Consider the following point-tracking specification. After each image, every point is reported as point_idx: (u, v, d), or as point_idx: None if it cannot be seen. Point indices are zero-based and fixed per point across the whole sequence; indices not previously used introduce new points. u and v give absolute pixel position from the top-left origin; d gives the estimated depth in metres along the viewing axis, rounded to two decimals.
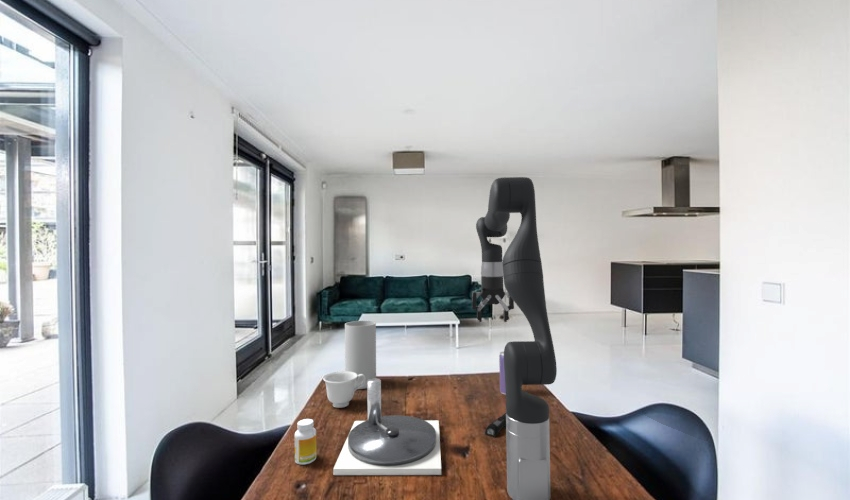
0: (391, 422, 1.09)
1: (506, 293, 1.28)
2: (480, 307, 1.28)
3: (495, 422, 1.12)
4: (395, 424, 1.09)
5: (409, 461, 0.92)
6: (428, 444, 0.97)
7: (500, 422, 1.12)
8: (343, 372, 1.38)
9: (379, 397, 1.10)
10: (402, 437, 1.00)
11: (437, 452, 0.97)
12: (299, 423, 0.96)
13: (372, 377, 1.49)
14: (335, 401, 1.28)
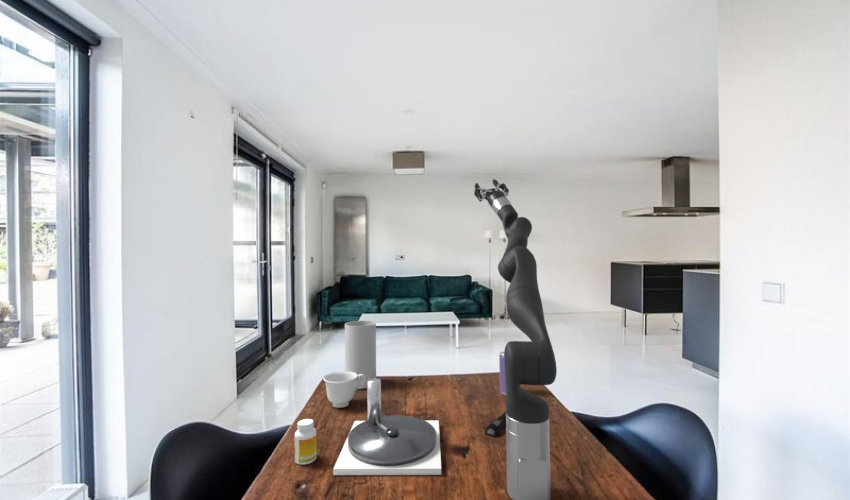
0: (391, 422, 1.09)
1: None
2: None
3: (495, 422, 1.12)
4: (395, 424, 1.09)
5: (409, 461, 0.92)
6: (428, 444, 0.97)
7: (499, 422, 1.12)
8: (343, 372, 1.38)
9: (379, 397, 1.10)
10: (402, 437, 1.00)
11: (437, 452, 0.97)
12: (299, 423, 0.96)
13: (372, 377, 1.49)
14: (335, 401, 1.28)
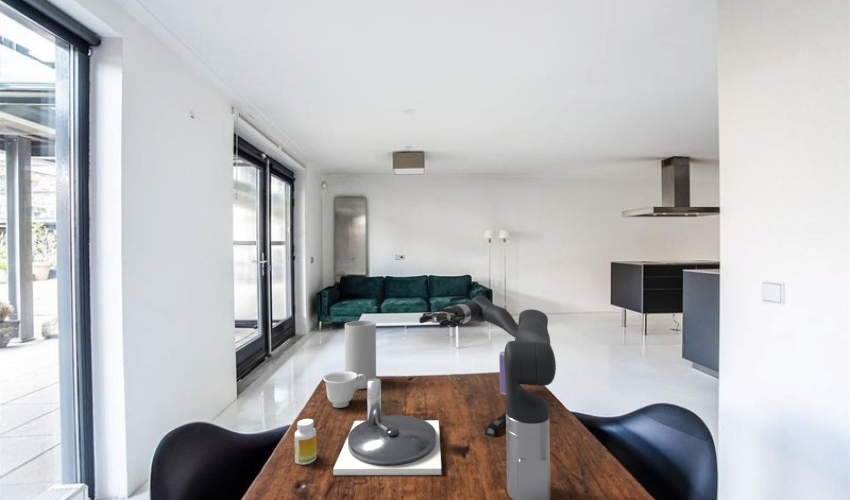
0: (391, 422, 1.09)
1: None
2: None
3: (495, 422, 1.12)
4: (395, 424, 1.09)
5: (409, 461, 0.92)
6: (428, 444, 0.97)
7: (500, 422, 1.12)
8: (343, 372, 1.38)
9: (379, 397, 1.10)
10: (402, 437, 1.00)
11: (437, 452, 0.97)
12: (299, 423, 0.96)
13: (372, 377, 1.49)
14: (335, 401, 1.28)
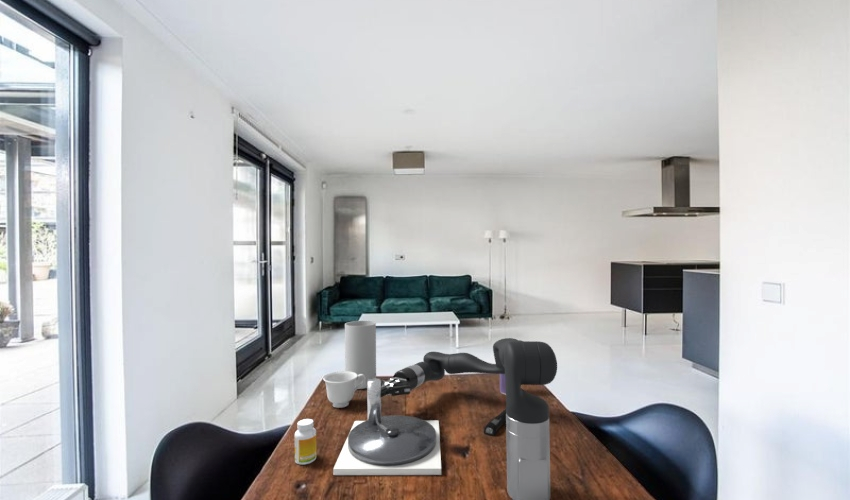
0: (391, 422, 1.09)
1: None
2: None
3: (493, 421, 1.13)
4: (395, 424, 1.09)
5: (409, 461, 0.92)
6: (428, 444, 0.97)
7: (498, 421, 1.13)
8: (343, 372, 1.38)
9: (379, 397, 1.10)
10: (402, 437, 1.00)
11: (437, 452, 0.97)
12: (299, 423, 0.96)
13: (372, 377, 1.49)
14: (335, 401, 1.28)
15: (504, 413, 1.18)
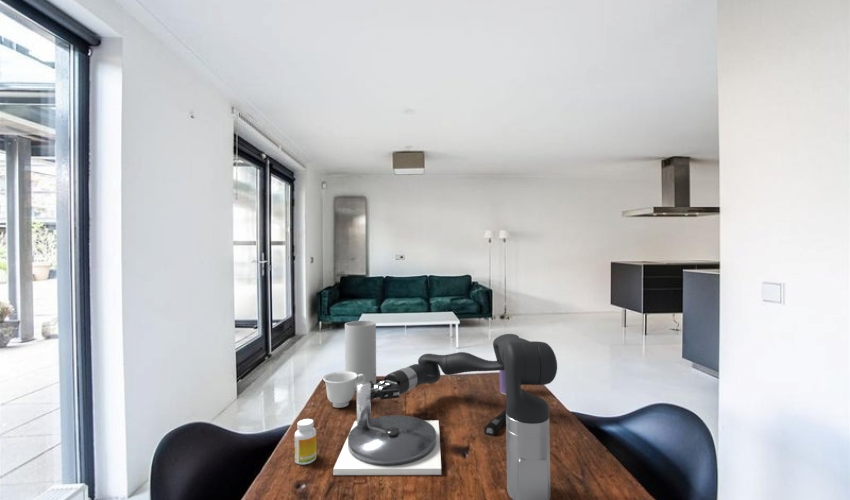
0: (382, 424, 1.08)
1: None
2: None
3: (493, 421, 1.13)
4: (387, 424, 1.08)
5: (424, 455, 0.95)
6: (433, 436, 1.01)
7: (498, 421, 1.13)
8: (343, 372, 1.38)
9: (370, 400, 1.07)
10: (405, 435, 1.02)
11: (437, 452, 0.97)
12: (299, 423, 0.96)
13: (372, 377, 1.49)
14: (335, 401, 1.28)
15: (504, 413, 1.18)
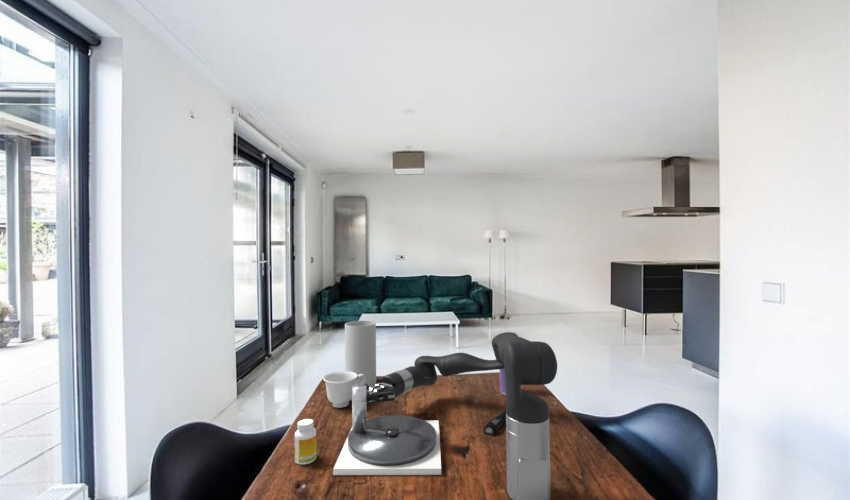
0: (377, 425, 1.07)
1: None
2: None
3: (493, 421, 1.13)
4: (382, 425, 1.08)
5: (431, 450, 0.97)
6: (434, 431, 1.04)
7: (498, 421, 1.13)
8: (343, 372, 1.38)
9: None
10: (405, 433, 1.03)
11: (437, 452, 0.97)
12: (299, 423, 0.96)
13: (372, 377, 1.49)
14: (335, 401, 1.28)
15: (504, 413, 1.18)
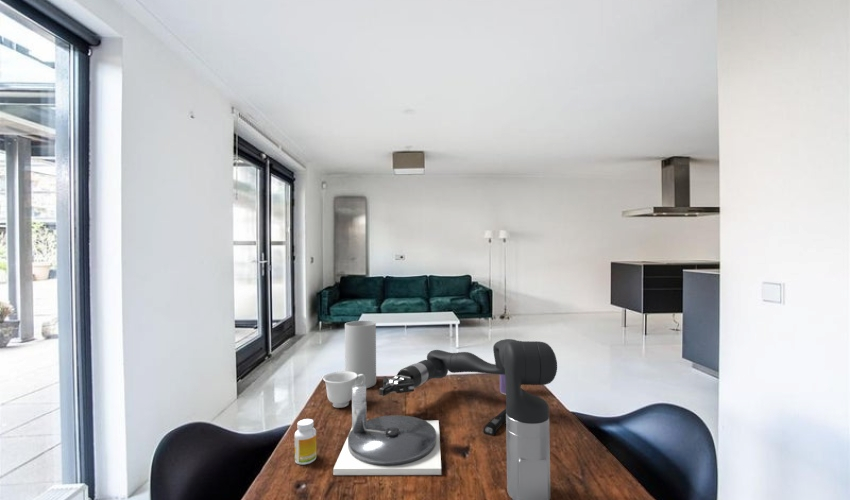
0: (377, 426, 1.07)
1: None
2: None
3: (493, 421, 1.13)
4: (382, 425, 1.08)
5: (431, 450, 0.97)
6: (433, 431, 1.04)
7: (498, 420, 1.13)
8: (343, 372, 1.38)
9: None
10: (405, 433, 1.03)
11: (437, 452, 0.97)
12: (299, 423, 0.96)
13: (372, 377, 1.49)
14: (335, 401, 1.28)
15: (504, 413, 1.18)
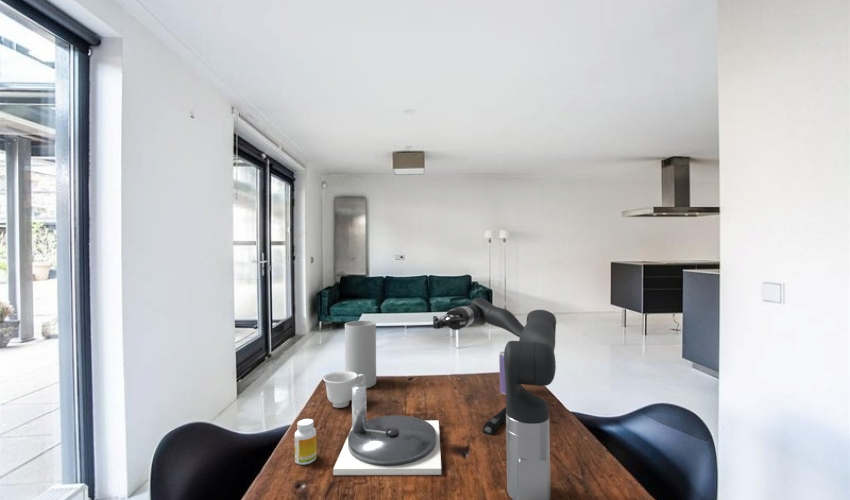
0: (377, 426, 1.07)
1: None
2: (446, 326, 1.24)
3: (492, 420, 1.13)
4: (382, 425, 1.08)
5: (431, 450, 0.97)
6: (433, 431, 1.04)
7: (496, 420, 1.14)
8: (343, 372, 1.38)
9: None
10: (405, 433, 1.03)
11: (437, 452, 0.97)
12: (299, 423, 0.96)
13: (372, 377, 1.49)
14: (335, 401, 1.28)
15: (502, 412, 1.19)
